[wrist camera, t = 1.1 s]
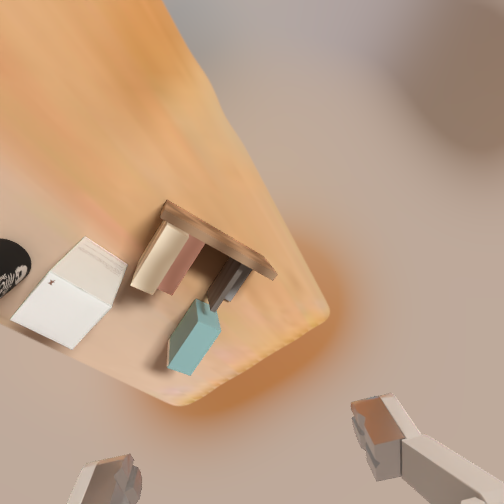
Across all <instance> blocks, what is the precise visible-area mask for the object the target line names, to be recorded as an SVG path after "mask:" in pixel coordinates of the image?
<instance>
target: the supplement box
mask: <svg viewBox="0 0 504 504" xmlns="http://www.w3.org/2000/svg"><path fill="white" fill-rule="evenodd" d="M127 266H128V264H127V263H125V262H124V261H122V260H121V259H119V258H118V257H116V256H115V255H113V254H112V253H110V252H109V251H107V250H106V249H104V248H103V247H101V246H100V245H98V244H97V243H95V242H93V241H92V240H90V239H89V238H87V237H86V236H85V237H84V238H83V239H82V240H81V241H79V242H78V243H77V244H76V245H75V246H74V247H73V248H72V249H71V250H70V251H69V252H68V253H67V254H66V255H65V256H64V257H63V258H62V259H61V260H60V261H59V262H58V263H57V264H56V265H55V266H54V267H53V268H52V269H51V270H50V271H49V272H48V273H47V274H46V275H45V276H44V278H43V279H42V280H41V281H40V282H39V283H38V285H37V286H36V287H35V288H34V289H33V291H32V292H31V293H30V294H29V296H28V297H27V298H26V299H25V301H24V302H23V303H22V305H21V306H20V307H19V308H18V310H17V311H16V312H15V313H14V315H13V316H12V317H11V319H10V320H11V321H13V322H15V323H18V324H20V325H22V326H24V327H26V328H28V329H30V330H32V331H34V332H36V333H38V334H40V335H43V336H45V337H47V338H49V339H51V340H53V341H55V342H57V343H59V344H61V345H63V346H65V347H67V348H69V349H71V350H73V349H74V347H75V346H76V345H77V344H78V343H79V342H80V341H81V340H82V339H83V338H84V337H85V336H86V334H87V333H88V332H89V331H90V330H91V329H92V328H93V327H94V326H95V325H96V324H97V323H98V322H99V321H100V320H101V319H102V318H103V316H104V315H105V314H106V313H107V312H108V311H109V310H110V309H111V308H112V305H113V302H114V299H115V296H116V294H117V291H118V289H119V287H120V284H121V282H122V279H123V277H124V274H125V271H126V268H127Z"/></svg>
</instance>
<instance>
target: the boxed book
mask: <svg viewBox="0 0 504 504" xmlns="http://www.w3.org/2000/svg"><path fill="white" fill-rule="evenodd" d="M220 332H221V328H220V324H219V320H218V315H217V311H216V312H215V313H214V312H212V311H210V306H209V304H206V303H204V302H202V301H200V300H198V299H195V300H194V302H193V303H192V305H191V306H190V308H189V309H188V311H187V312H186V314H185V315H184V317H183V319H182V320H181V322H180V323H179V325H178V326H177V328H176V329H175V331H174V332H173V334H172V335H171V337H170V338H169V340H168V350H167V368H169V369H172V370H175V371H178V372H181V373H184V374H187V375H190V376H191V374H192V373H193V371H194V370H195V368H196V367H197V366H198V364H199V363H200V361H201V360H202V358H203V357H204V355H205V354H206V353H207V351H208V350H209V348H210V347H211V345H212V344H213V342H214V341H215V339H216V338H217V337H218V335H219V334H220Z"/></svg>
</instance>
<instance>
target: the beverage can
mask: <svg viewBox="0 0 504 504" xmlns="http://www.w3.org/2000/svg"><path fill="white" fill-rule="evenodd" d="M30 269H31V259H30V257H29V255H28V253H27V252H26V251H25V249H24V248H22V247H21V246H20V245H19V244H17V243H15V242H13V241H10V240H7V239H0V298H2V297H3V296H4V295H5V294H6V293H7V292H9V291H10V290H11V289H12V288H13V287H15V286H16V285H17V284H18V283H19V282H20V281H22V280H23V279H24V278H25V277H26V276H27V275H28V274H29V272H30Z"/></svg>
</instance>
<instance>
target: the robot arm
mask: <svg viewBox="0 0 504 504" xmlns="http://www.w3.org/2000/svg"><path fill="white" fill-rule="evenodd" d="M351 410H352V412H353V415H354V416H353V417H352V422H353V427H354V431H355V434H356V437H357V440H358V442H359V444H360V446H361V448H363V449H364V450H365V451H366V456H367V462H368V464H369V466H370V468H371V470H372V473H373V475H374V477H375V479H376V481H381V480H386V479H391V478H396V477H401V476H402V479H404V480H405V481H406V482H407V483H408V484H409V485H410V486H411V487H413V488H414V489H415V490H416V491H417V492H418V493H419V494H421V495H422V496H423V497H424V498H425V499H426V500H427V501H428V502H429V503H431V504H504V482H502V481H501V480H499V479H497V478H496V477H494V476H492V475H491V474H489V473H488V472H486V471H485V470H483V469H481V468H480V467H478V466H477V465H475V464H473V463H472V462H470V461H469V460H467V459H465V458H464V457H462V456H460V455H459V454H457V453H456V452H454V451H452V450H451V449H449V448H448V447H446V446H444V445H443V444H441V443H440V442H438V441H436V440H435V439H433V438H432V437H430V436H428V435H427V434H424V435H421V433H420V431H419V430H418V429H417V427H416V426H415V424H414V423H413V421H412V420H411V418H410V417H409V415H408V414H407V413H406V411H405V410H404V408H403V407H402V406H401V404H400V403H399V401H398V399H397V398H396V397H395V395H394V394H392V393H389V394H384V395H380V396H374V397H370V398H366V399H362V400H358V401H354V402H351ZM133 461H134V459H133V457H132V456H131V454H127V455H122V456H118V457H113V458H108V459H103V460H98V461H94V462H89V463H86V464H85V466H84V467H83V468H82V470H81V472H80V474H79V476H78V479H77V481H76V483H75V486H74V488H73V490H72V492H71V495H70V497H69V499H68V502H67V504H136V503H137V502H138V500H139V499H140V494H141V490H142V476H141V472H140V470H139V468H138V467H136V466H134V465H133Z"/></svg>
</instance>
